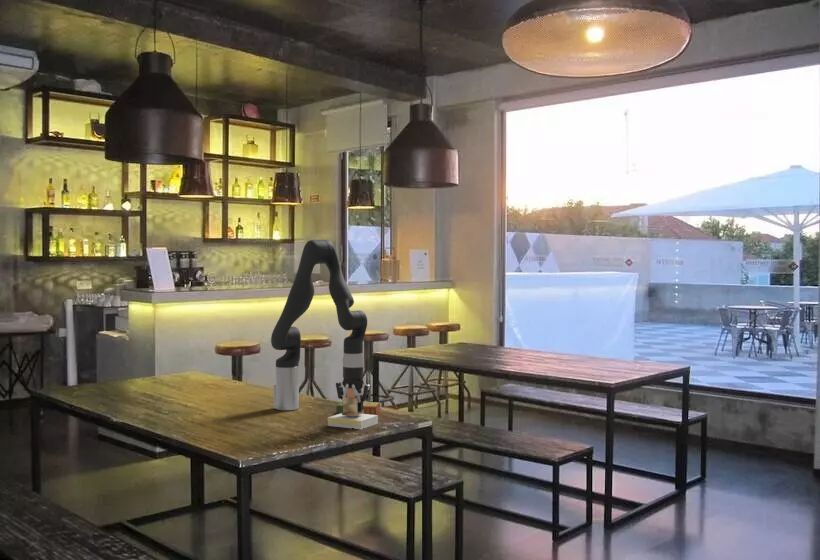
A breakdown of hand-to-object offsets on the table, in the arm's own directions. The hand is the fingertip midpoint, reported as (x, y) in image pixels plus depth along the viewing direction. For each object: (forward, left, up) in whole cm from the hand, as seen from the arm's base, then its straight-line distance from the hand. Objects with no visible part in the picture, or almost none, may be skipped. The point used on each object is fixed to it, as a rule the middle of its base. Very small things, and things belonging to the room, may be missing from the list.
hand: (353, 411), depth 283 cm
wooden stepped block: (0, 0, -1) cm, 1 cm away
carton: (-10, +20, -5) cm, 23 cm away
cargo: (0, 0, +5) cm, 5 cm away
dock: (0, 0, -5) cm, 5 cm away
